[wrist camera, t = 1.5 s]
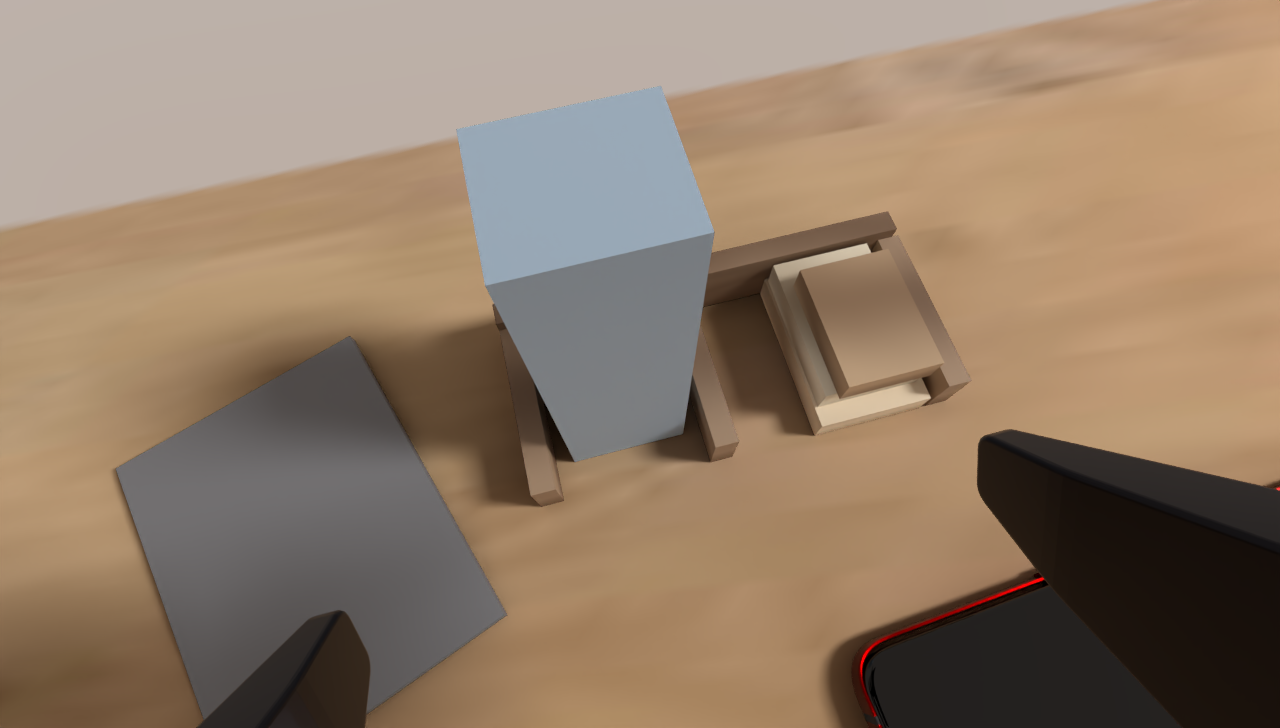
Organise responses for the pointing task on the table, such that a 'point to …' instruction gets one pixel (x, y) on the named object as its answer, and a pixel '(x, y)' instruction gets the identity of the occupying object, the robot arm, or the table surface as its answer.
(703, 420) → the rack
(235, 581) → the mat
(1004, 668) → the smartphone
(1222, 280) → the table surface
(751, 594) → the table surface
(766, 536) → the table surface
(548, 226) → the block
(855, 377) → the offcut stack
